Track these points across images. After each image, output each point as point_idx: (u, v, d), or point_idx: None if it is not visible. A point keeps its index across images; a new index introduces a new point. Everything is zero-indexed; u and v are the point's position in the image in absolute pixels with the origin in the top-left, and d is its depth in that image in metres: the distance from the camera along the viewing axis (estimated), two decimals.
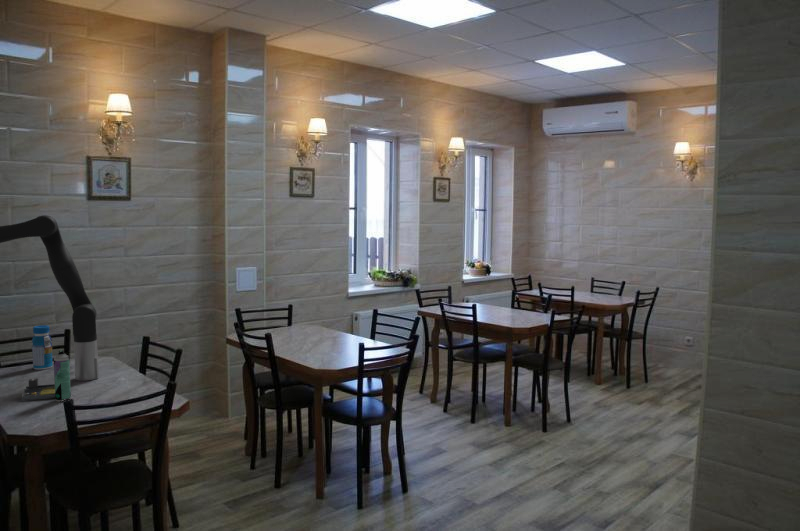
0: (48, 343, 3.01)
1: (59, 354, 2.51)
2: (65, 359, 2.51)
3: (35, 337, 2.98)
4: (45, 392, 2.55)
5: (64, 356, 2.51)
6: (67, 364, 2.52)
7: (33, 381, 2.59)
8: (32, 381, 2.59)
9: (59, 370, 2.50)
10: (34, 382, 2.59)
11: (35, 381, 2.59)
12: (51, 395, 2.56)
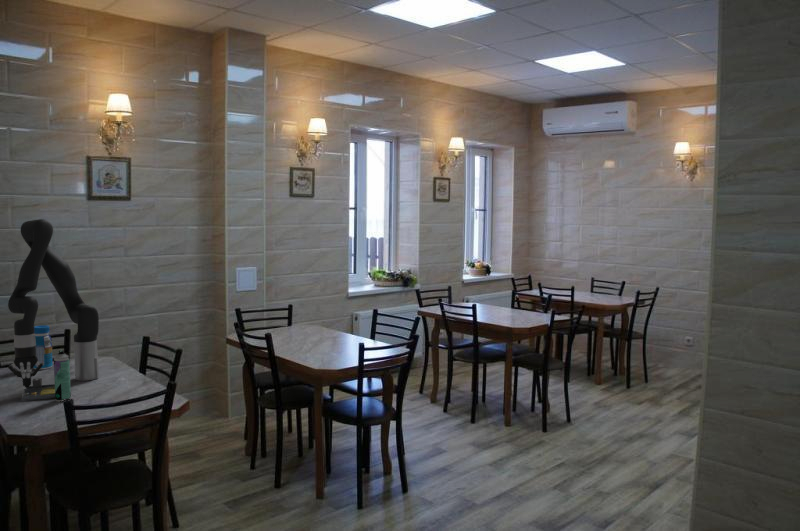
0: (48, 343, 3.01)
1: (59, 354, 2.51)
2: (65, 359, 2.51)
3: (35, 337, 2.98)
4: (45, 392, 2.55)
5: (64, 356, 2.51)
6: (68, 363, 2.52)
7: (37, 381, 2.60)
8: (36, 381, 2.60)
9: (59, 370, 2.50)
10: (38, 382, 2.60)
11: (39, 381, 2.60)
12: (51, 395, 2.56)
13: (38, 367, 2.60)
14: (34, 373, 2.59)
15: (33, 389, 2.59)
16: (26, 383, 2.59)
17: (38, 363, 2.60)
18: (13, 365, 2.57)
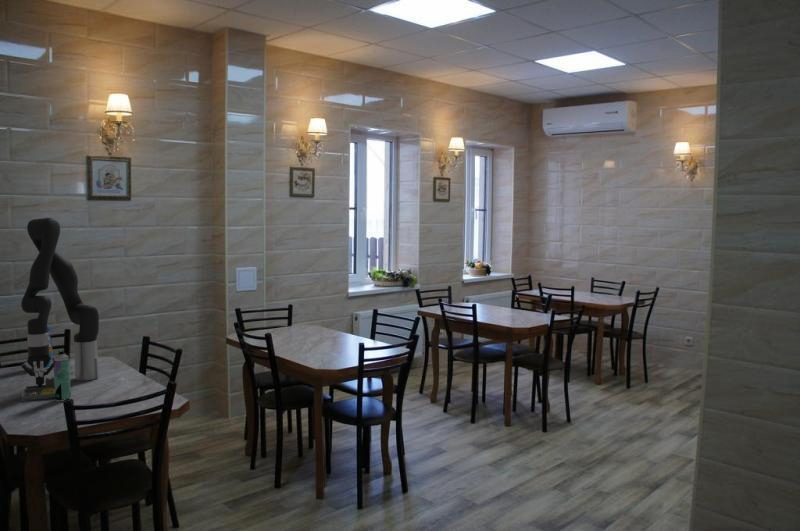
0: None
1: (59, 354, 2.51)
2: (65, 359, 2.51)
3: None
4: (45, 392, 2.55)
5: (64, 356, 2.51)
6: (67, 364, 2.52)
7: (50, 380, 2.61)
8: (49, 380, 2.61)
9: (59, 370, 2.50)
10: (51, 381, 2.61)
11: (52, 380, 2.62)
12: (51, 395, 2.56)
13: (51, 366, 2.61)
14: (47, 372, 2.61)
15: (33, 389, 2.59)
16: (39, 382, 2.60)
17: (51, 362, 2.62)
18: (26, 364, 2.59)
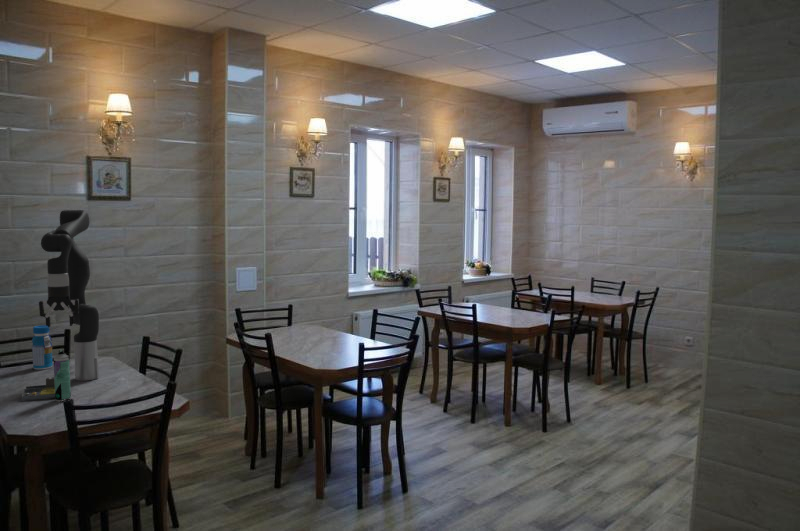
0: (48, 343, 3.01)
1: (59, 354, 2.51)
2: (65, 359, 2.51)
3: (35, 337, 2.98)
4: (45, 392, 2.55)
5: (64, 356, 2.51)
6: (67, 364, 2.52)
7: (50, 380, 2.61)
8: (49, 380, 2.61)
9: (59, 370, 2.50)
10: (51, 381, 2.62)
11: (52, 380, 2.62)
12: (51, 395, 2.56)
13: (75, 304, 2.52)
14: (77, 311, 2.52)
15: (33, 389, 2.59)
16: (49, 323, 2.49)
17: (73, 301, 2.52)
18: (44, 303, 2.48)
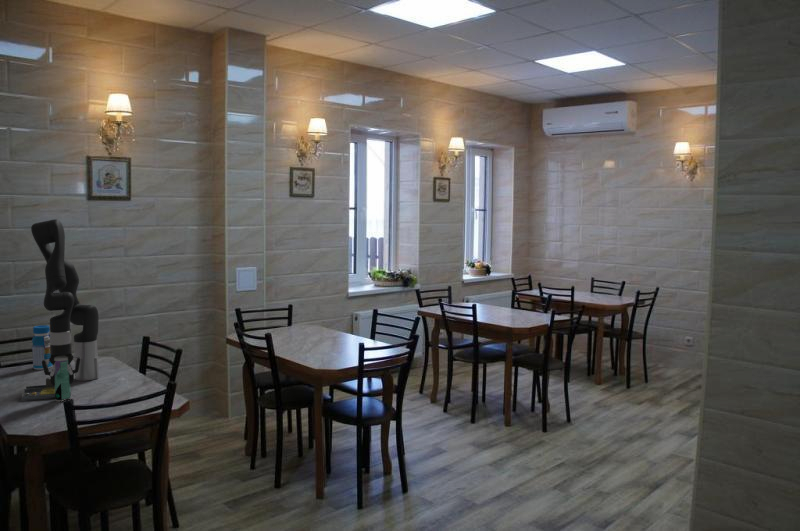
0: (48, 343, 3.01)
1: None
2: (65, 359, 2.51)
3: (35, 337, 2.98)
4: (45, 392, 2.55)
5: (64, 356, 2.51)
6: None
7: (50, 380, 2.61)
8: (49, 380, 2.61)
9: (59, 370, 2.50)
10: None
11: None
12: (51, 395, 2.56)
13: (77, 362, 2.54)
14: (77, 370, 2.54)
15: (33, 389, 2.59)
16: (54, 381, 2.51)
17: (75, 359, 2.54)
18: (47, 361, 2.50)
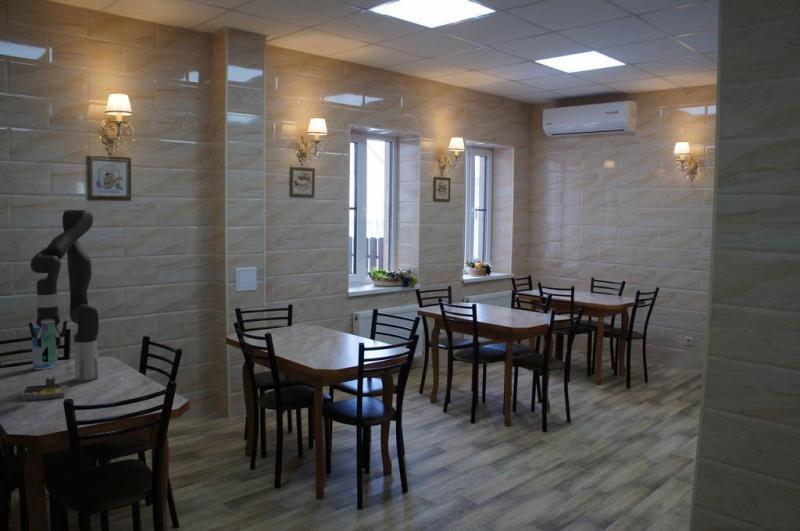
0: None
1: None
2: (52, 322, 2.54)
3: None
4: (45, 392, 2.55)
5: (51, 319, 2.54)
6: None
7: (50, 380, 2.61)
8: (49, 380, 2.61)
9: (46, 332, 2.53)
10: (51, 381, 2.62)
11: (52, 380, 2.62)
12: (51, 395, 2.56)
13: (63, 325, 2.57)
14: (64, 332, 2.57)
15: (33, 389, 2.59)
16: None
17: (62, 322, 2.57)
18: (34, 323, 2.53)
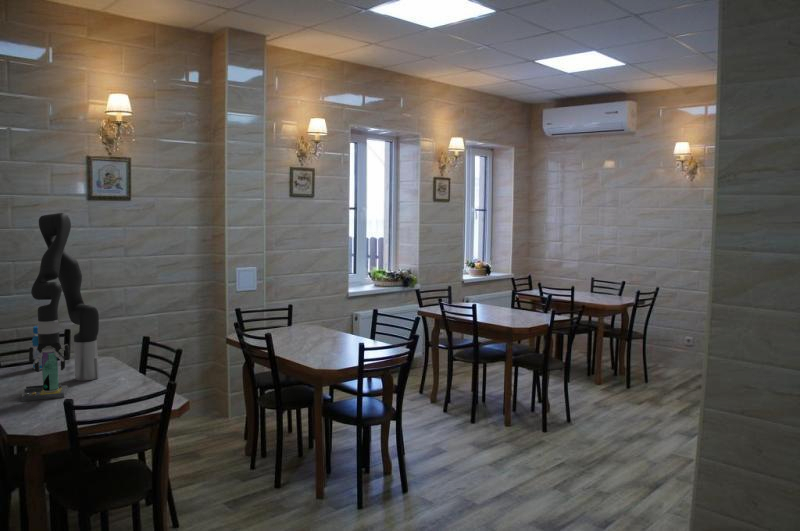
0: None
1: None
2: (52, 350, 2.55)
3: (35, 337, 2.98)
4: (45, 392, 2.55)
5: (51, 347, 2.55)
6: (55, 355, 2.56)
7: None
8: None
9: (47, 361, 2.54)
10: None
11: None
12: (51, 395, 2.56)
13: (65, 349, 2.58)
14: (68, 356, 2.58)
15: (33, 389, 2.59)
16: (38, 368, 2.55)
17: (63, 346, 2.58)
18: (34, 349, 2.54)
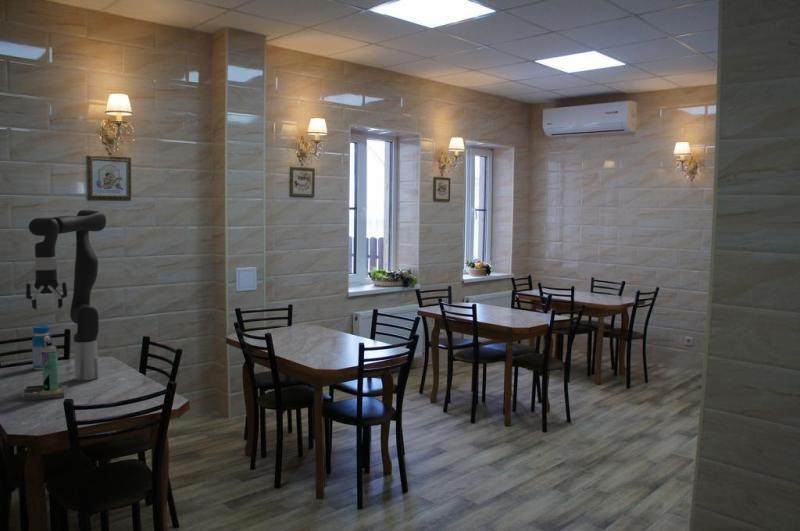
0: None
1: (47, 345, 2.55)
2: (53, 350, 2.55)
3: (35, 337, 2.98)
4: (45, 392, 2.55)
5: (52, 347, 2.55)
6: (55, 355, 2.56)
7: None
8: None
9: (47, 361, 2.54)
10: None
11: None
12: (51, 395, 2.56)
13: (63, 287, 2.55)
14: (66, 294, 2.56)
15: (33, 389, 2.59)
16: (35, 305, 2.52)
17: (60, 284, 2.55)
18: (32, 285, 2.52)
